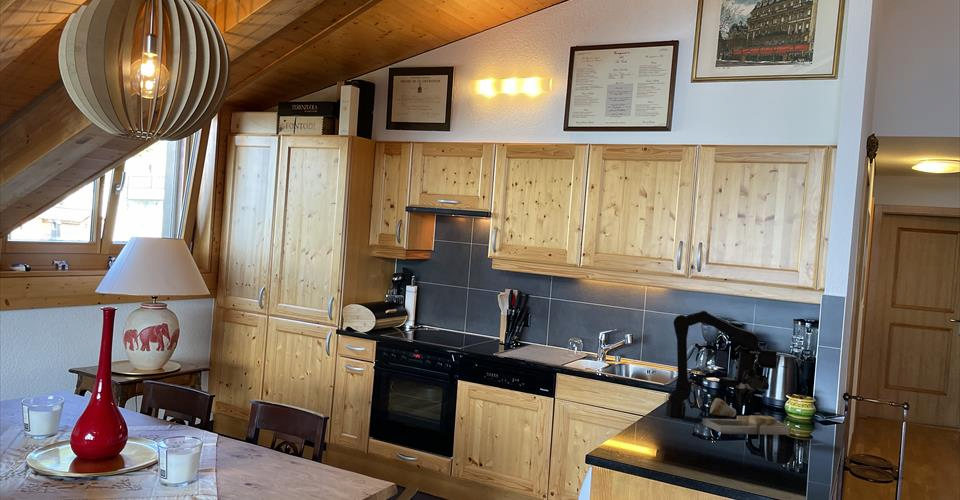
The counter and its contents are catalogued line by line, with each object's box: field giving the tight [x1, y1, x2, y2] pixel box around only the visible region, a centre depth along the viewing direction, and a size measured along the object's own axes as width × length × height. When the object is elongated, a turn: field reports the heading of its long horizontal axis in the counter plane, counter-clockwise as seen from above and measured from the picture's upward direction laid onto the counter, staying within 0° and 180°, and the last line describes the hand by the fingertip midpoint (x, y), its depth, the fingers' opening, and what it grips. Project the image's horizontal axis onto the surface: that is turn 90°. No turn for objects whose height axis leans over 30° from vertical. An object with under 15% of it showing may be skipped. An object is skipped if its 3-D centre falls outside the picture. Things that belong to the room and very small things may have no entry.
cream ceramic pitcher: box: [709, 397, 737, 418], centre depth 302 cm, size 8×10×10 cm
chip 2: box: [761, 415, 778, 426], centre depth 285 cm, size 4×4×4 cm
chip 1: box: [748, 414, 767, 431], centre depth 284 cm, size 4×4×4 cm
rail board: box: [700, 415, 792, 436], centre depth 282 cm, size 30×14×4 cm, turn 109°
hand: (741, 406), depth 283 cm, fingers closed
